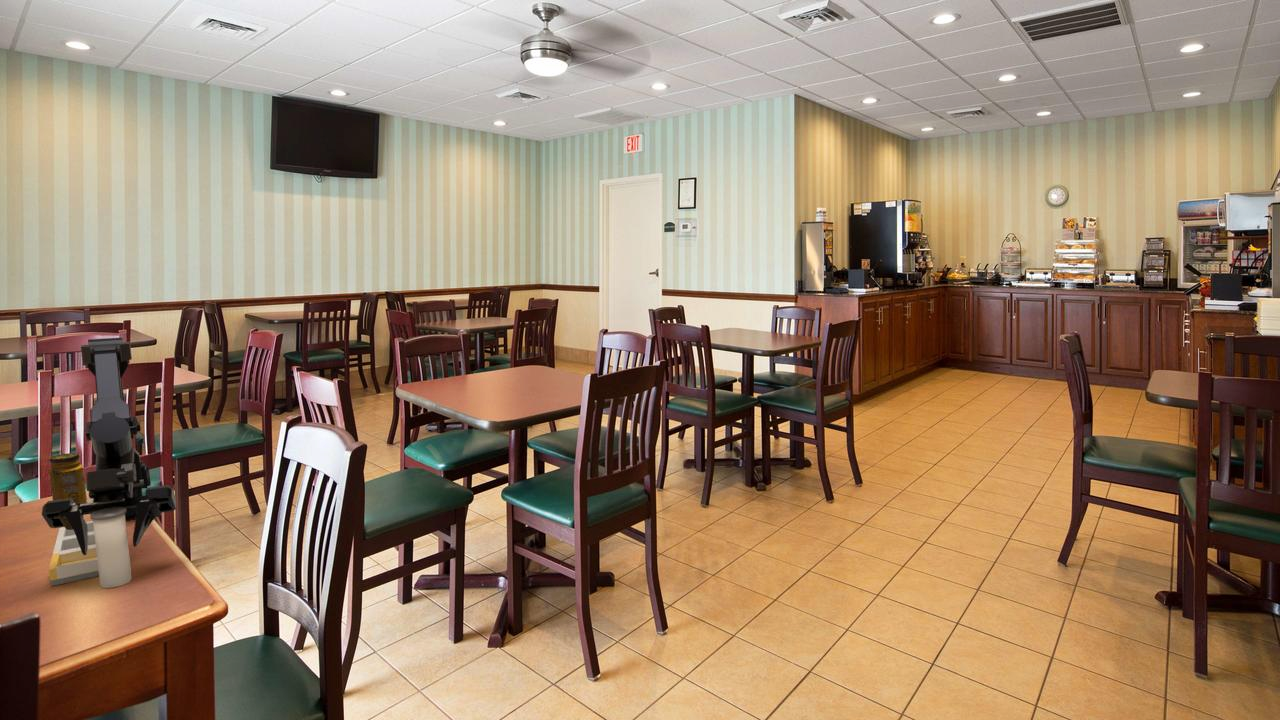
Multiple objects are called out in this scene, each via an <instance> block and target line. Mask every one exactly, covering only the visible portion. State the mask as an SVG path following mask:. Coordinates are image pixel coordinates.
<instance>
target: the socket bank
mask: <svg viewBox="0 0 1280 720" xmlns="http://www.w3.org/2000/svg"><path fill="white" fill-rule="evenodd" d="M85 522H86V524H87V529H88V549H87V554H86V555H83V554H82V551H81V549H80V546H79V543H78V540H77V538H76V535H75V532H74V530H67V529H66V528H65V527H61V528H58V533H57V536H56V542H55V545H54V548H53V553H52V556H51V559H50V563H49V567H48V575H49V582H50V586H51V587H53V586H57V585H61V584H67V583H71V582H72V583H73V582H77V581H81V580H86V579H90V578H95V577H99V571H98V562H97V553H96V544H95V535H94V527H93V520H91V521H85Z"/></svg>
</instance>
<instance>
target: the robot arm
mask: <svg viewBox="0 0 1280 720" xmlns="http://www.w3.org/2000/svg"><path fill="white" fill-rule="evenodd" d="M123 338H124V337H122V336H121V337H107V338H106V337H103V338H92V339H91V338H90V339H88V340H87V344H81V345H80V350H81V351H80V353H81V360H82V364H87V368H88V370H89V372H91V374H92V375H93V376H94V380H95V390H96V393H95V394H96V403H95V404H94V405H93V406H92V407H91V408H90V410H89V417H90V421H86V423H85V436H86V437H85V438H86V442H90V441H91V444H92V448H93V452H94V455H96V457H95V470H94V471H88V472H85V473H86V474H85V477H86V478H85V479H86V482H85V485H86V492H88V499H92V498H93V500H92V502H90V503H86V504H78V503H75V502H74V500H73V499H72V498H67V499H60V500H53V499H52V500H48V501H47V502H46V503H45V504H44V505H42V508H41V509H42V511H41V516H42V518H43V519H44V521H45V522H46V523H47V525H48V527H49V528H50V529H60V528H61V527H65V528H66V529H67V530H74V532H75V535H76V538H77V540H78V543H79V546H80V549H81V551H82V554H83V555H86V554H87V549H88V529H87V524H86V522H87V521H86V520H85V519H84V518H85V516H86V515H91V513H93V512H95V511H98V510H101V509H105V508H112V507H124V508H126V513H125V521H129V520H134V519H135V522H134V529H133V534H132V535H133V536H132V546H133V547H134V548H137V546H138V545H139V543H140V541H141V540H142V538H143V536H144V534H145V532H146V531H147V529H148V528H149V526H150V525H151V524H152V523H153V521H154V520H155V519H156V518H159V517H161V516H162V513H167V512H168V513H169V512H174V511H176V510H177V497H176V495H175V492H174V489H173V487H172V486H170V485H169V484H167V485H159V486H152V483H151V475H150V467H149V466H148V465H146V463H145V461H141V457H140V456H141V455H140V453H139V452H138V451H137V450H136V448H135V447H134V446H133V441H132V440H133V439H134V438H135V437H134V436H137V435H138V433H139V432H141V431H142V430H141V429H142V428H141V427H142V426H141V421H139V420H138V418H137V417H136V415H135V416H132V413H131V412H132V411H131V406H130V404H129V403H127V402H125V393H124V386H123V376H124V375H125V373H126V371H127V370H128V367H129V361H131V360H133V359H132V350H131V341H126V342H124V339H123ZM150 486H151V487H150ZM143 489H145V495H143Z"/></svg>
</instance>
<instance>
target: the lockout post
mask: <svg viewBox="0 0 1280 720" xmlns="http://www.w3.org/2000/svg"><path fill="white" fill-rule="evenodd" d="M125 513H126V508H124V507H112V508H105V509H101V510H98V511H95V512H93V513H91V514H89V515H90V519H91V520H92V521H93V527H94V535H95V544H96V553H97V562H98V571H99V576H98V577H99V586H100V587H101V588H102V589H112V588H118V587H121V586H123V585H126V584H128V583H130V582H131V581H132V580H131V579H132V578H133V577H132V570H131V560H130V551H129V541H128V532H127V531H128V530H127V522H126V521H127V520H125ZM130 580H131V581H130Z"/></svg>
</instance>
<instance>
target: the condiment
mask: <svg viewBox="0 0 1280 720" xmlns="http://www.w3.org/2000/svg"><path fill="white" fill-rule="evenodd" d="M49 462H50V469H49V470H48V474H49V481H50V482H49V483H50V488H51V497H52V500H60V499H67V498H72V499H73V500H74V502H75V503H78V504H86V503H92V502H93V498H92V499H90V498H87V488H86V482H85V477H84V467H83V465H82V464H81V460H80V455H79V454H78V453H74V452H69V453H61V454H58V455H54V456H51V457H50V458H49Z"/></svg>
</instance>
